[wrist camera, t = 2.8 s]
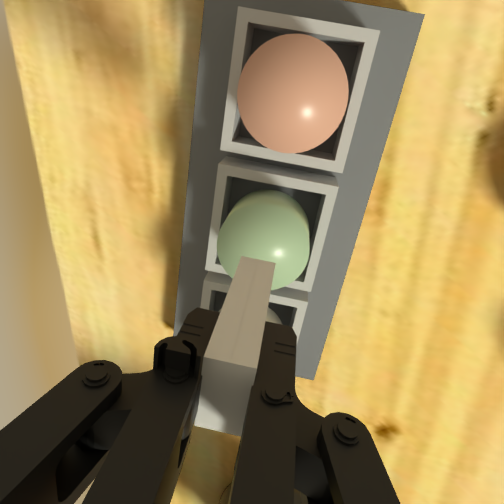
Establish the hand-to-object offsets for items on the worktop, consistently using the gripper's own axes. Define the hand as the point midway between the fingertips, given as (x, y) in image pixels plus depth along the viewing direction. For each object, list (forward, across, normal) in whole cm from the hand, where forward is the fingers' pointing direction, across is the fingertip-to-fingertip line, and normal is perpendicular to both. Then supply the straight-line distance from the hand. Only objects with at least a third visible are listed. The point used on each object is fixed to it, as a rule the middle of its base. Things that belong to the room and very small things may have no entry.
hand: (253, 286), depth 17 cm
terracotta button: (+8, 0, -8) cm, 11 cm away
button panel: (+12, 0, 0) cm, 12 cm away
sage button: (+8, 0, 0) cm, 8 cm away
